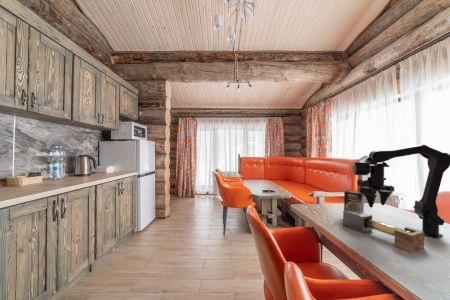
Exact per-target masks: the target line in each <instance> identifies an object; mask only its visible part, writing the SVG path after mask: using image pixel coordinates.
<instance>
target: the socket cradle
mask: <svg viewBox="0 0 450 300" xmlns="http://www.w3.org/2000/svg"><path fill="white" fill-rule="evenodd" d="M403 230H406V231H410V232H412V233H407V232H404V231H401V230H398V229H397V230H395V237H394V247H396V248H399V249H401V250H403V251H406V252H409V253H412V254H413V253H415V252H418V251H421V250H423V249H425V235H424V232H423V231H422V230H420V229H416V228H413V227H408V226H405V227H404V228H403Z"/></svg>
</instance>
